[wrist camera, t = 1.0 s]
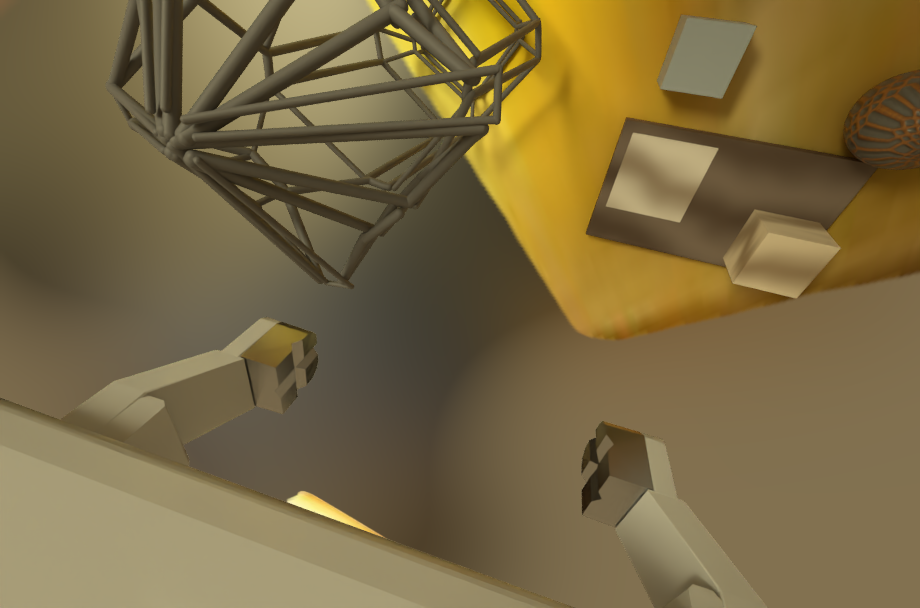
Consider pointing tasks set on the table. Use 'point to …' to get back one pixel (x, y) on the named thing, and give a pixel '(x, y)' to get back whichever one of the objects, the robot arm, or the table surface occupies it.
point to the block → (779, 253)
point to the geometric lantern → (204, 118)
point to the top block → (704, 55)
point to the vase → (887, 124)
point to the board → (713, 188)
